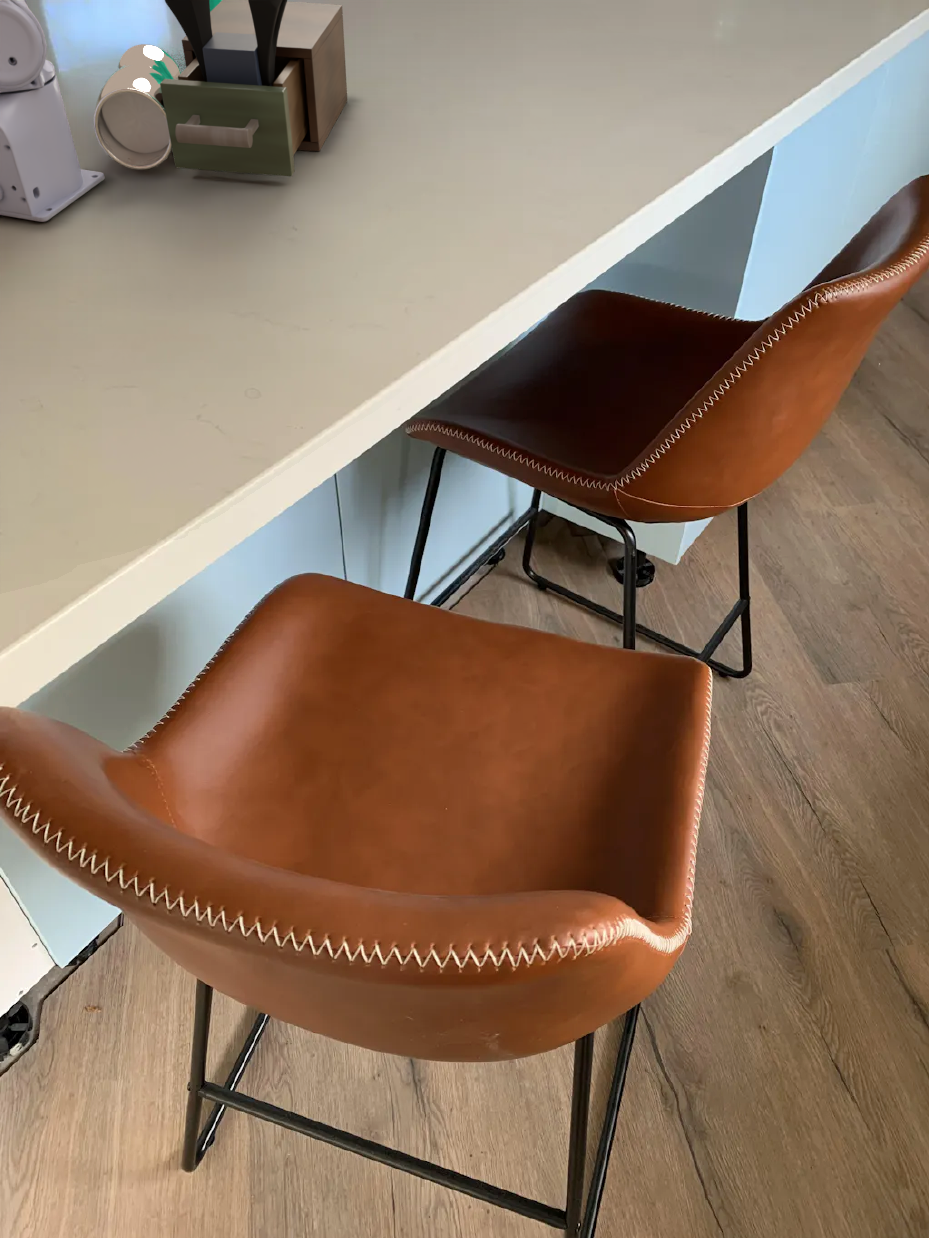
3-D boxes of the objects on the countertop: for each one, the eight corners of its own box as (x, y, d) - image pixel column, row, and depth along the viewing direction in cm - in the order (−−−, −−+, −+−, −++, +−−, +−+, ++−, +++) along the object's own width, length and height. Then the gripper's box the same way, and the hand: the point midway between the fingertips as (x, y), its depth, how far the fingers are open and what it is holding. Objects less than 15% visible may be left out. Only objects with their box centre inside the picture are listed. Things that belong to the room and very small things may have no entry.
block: (261, 108, 82) (254, 51, 79) (210, 105, 82) (202, 48, 79) (272, 90, 85) (266, 34, 82) (223, 87, 85) (215, 32, 82)
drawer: (280, 196, 80) (271, 110, 75) (159, 187, 81) (142, 100, 76) (322, 124, 91) (316, 44, 86) (216, 116, 92) (204, 37, 87)
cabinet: (319, 151, 89) (311, 48, 83) (198, 142, 90) (181, 40, 84) (347, 101, 98) (342, 4, 92) (237, 93, 99) (224, -3, 93)
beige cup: (180, 37, 90) (166, 84, 80) (194, 117, 95) (183, 171, 85) (104, 39, 90) (81, 87, 79) (122, 119, 94) (102, 174, 84)
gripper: (102, -110, 70) (142, 91, 80) (297, -100, 70) (313, 101, 79) (132, -128, 75) (167, 64, 85) (315, -119, 74) (328, 73, 84)
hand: (239, 80), depth 82 cm, fingers closed on block, 4 cm apart
